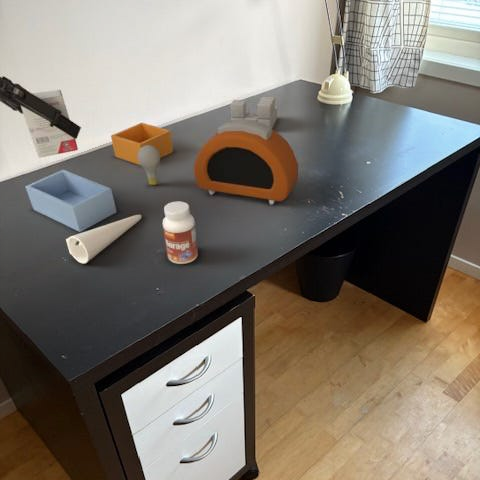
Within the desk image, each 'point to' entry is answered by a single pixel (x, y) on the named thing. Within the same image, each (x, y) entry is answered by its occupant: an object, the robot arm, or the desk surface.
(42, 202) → the blue bin
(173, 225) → the pill bottle
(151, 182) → the light bulb
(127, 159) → the amber bin
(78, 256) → the long cone
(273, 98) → the gray notched block
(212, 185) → the alarm clock
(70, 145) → the ink box
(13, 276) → the desk surface
